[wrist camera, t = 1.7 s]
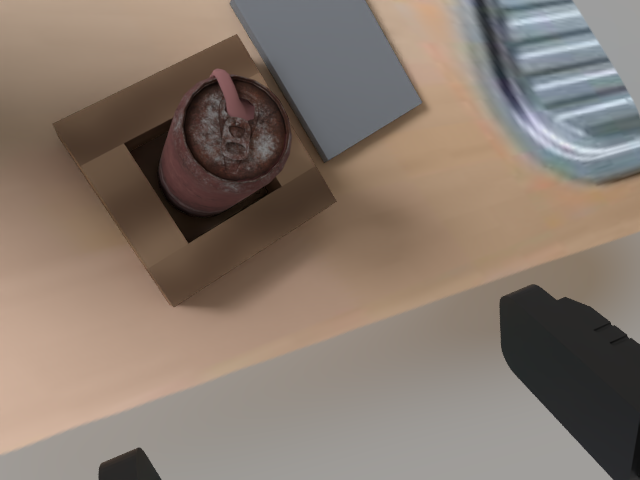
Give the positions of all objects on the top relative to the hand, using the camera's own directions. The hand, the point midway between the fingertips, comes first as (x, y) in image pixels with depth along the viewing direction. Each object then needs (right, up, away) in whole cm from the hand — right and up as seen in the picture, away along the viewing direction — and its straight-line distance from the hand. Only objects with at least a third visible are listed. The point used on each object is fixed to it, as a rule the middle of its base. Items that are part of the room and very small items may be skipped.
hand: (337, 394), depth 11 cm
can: (-9, +8, +29) cm, 31 cm away
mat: (0, +18, +33) cm, 37 cm away
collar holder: (-9, +8, +29) cm, 31 cm away
